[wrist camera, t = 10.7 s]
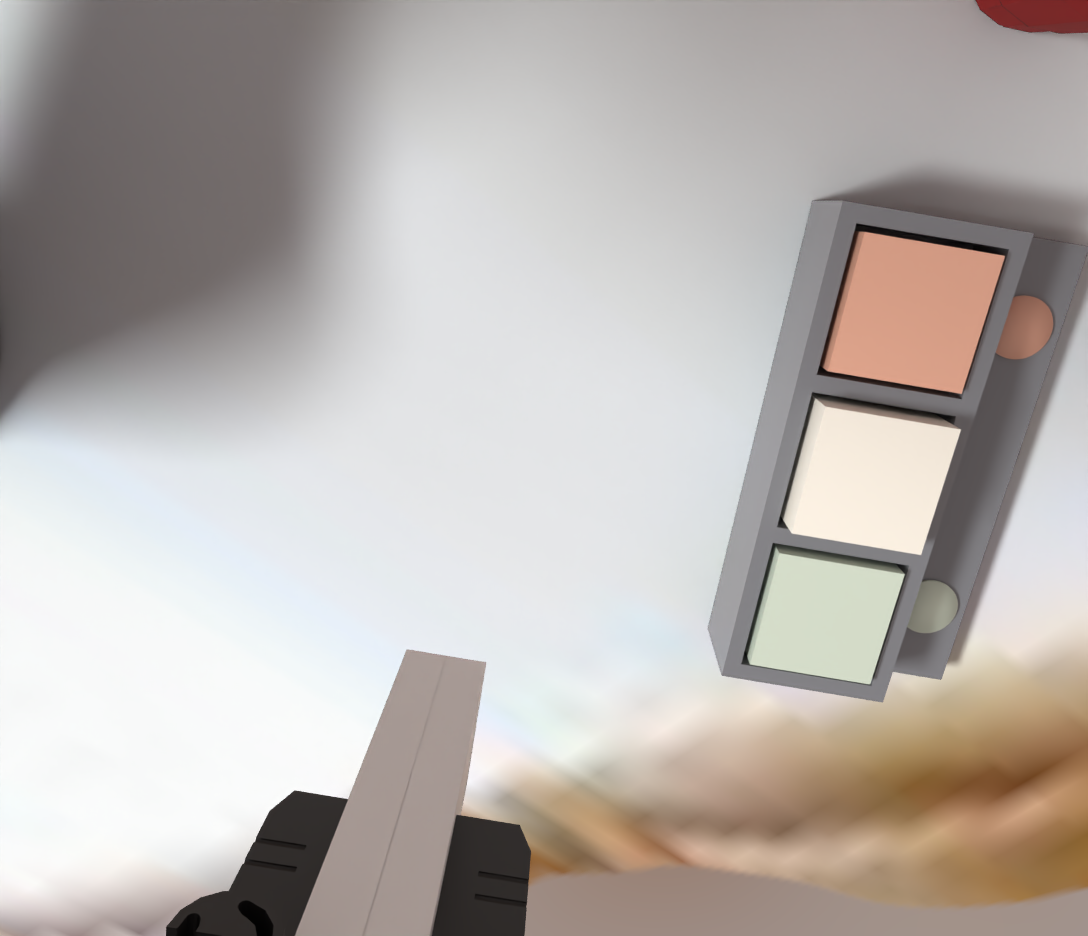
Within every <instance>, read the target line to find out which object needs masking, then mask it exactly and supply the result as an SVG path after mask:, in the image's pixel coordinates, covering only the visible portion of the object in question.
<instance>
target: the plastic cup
mask: <svg viewBox="0 0 1088 936" xmlns="http://www.w3.org/2000/svg"><path fill="white" fill-rule="evenodd" d="M976 2H977V4H978V6H979V8H980V10H981V11H982V12H984V13H985V14H986V15H987V16H989V17H990V18H991V19H992V20H994V21H995V22H996V23H997V24H999V25H1002V26H1003V27H1007V28H1012V29H1017V30H1021V31H1026V32H1046V31H1051V32H1055V33H1088V0H976Z"/></svg>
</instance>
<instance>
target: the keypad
mask: <svg viewBox="0 0 1088 936" xmlns="http://www.w3.org/2000/svg"><path fill="white" fill-rule="evenodd" d="M854 231H860V232H868V233H874V234H880V235H886V236H891V237H897V238H903V239H909V240H915V241H921V242H927V243H933V244H938V245H944V246H950V247H956V248H962V249H968V250H974V251H979V252H985V253H991V254H997V255H1003V256H1005V258H1004V261H1003V264H1002V267H1001V271H1000V274H999V277H998V280H997V283H996V286H995V290H994V293H993V296H992V299H991V302H990V306H989V309H988V312H987V315H986V318H985V321H984V325H983V328H982V331H981V334H980V337H979V340H978V344H977V347H976V350H975V353H974V356H973V359H972V363H971V366H970V369H969V372H968V375H967V378H966V382H965V385H964V388H963V391H962V394H960V393H954V392H948V391H942V390H936V389H930V388H924V387H918V386H912V385H906V384H900V383H895V382H889V381H883V380H877V379H871V378H865V377H859V376H853V375H847V374H841V373H835V372H830V371H827V370H825V369H824V368H822V367H821V366H820V365H819V364H820V361H821V357H822V353H823V349H824V345H825V341H826V338H827V334H828V330H829V326H830V322H831V318H832V315H833V311H834V307H835V303H836V299H837V296H838V292H839V288H840V284H841V280H842V276H843V273H844V269H845V265H846V261H847V257H848V253H849V250H850V246H851V242H852V238H853V234H854ZM1033 235H1034V233H1030V232H1024V231H1018V230H1013V229H1007V228H1001V227H995V226H989V225H983V224H977V223H972V222H966V221H960V220H954V219H948V218H942V217H937V216H931V215H925V214H919V213H913V212H907V211H901V210H896V209H890V208H884V207H878V206H872V205H866V204H860V203H855V202H849V201H812V205H811V209H810V213H809V217H808V221H807V225H806V229H805V233H804V237H803V241H802V246H801V250H800V254H799V258H798V262H797V266H796V270H795V274H794V278H793V282H792V286H791V290H790V295H789V299H788V303H787V307H786V311H785V315H784V319H783V323H782V327H781V331H780V335H779V339H778V344H777V348H776V352H775V356H774V360H773V364H772V368H771V372H770V376H769V380H768V384H767V388H766V393H765V397H764V401H763V405H762V409H761V413H760V417H759V421H758V425H757V429H756V433H755V437H754V442H753V446H752V450H751V454H750V458H749V462H748V466H747V470H746V474H745V478H744V482H743V486H742V491H741V495H740V499H739V503H738V507H737V511H736V515H735V519H734V523H733V527H732V531H731V535H730V540H729V544H728V548H727V552H726V556H725V560H724V564H723V568H722V572H721V576H720V580H719V584H718V589H717V593H716V597H715V601H714V605H713V609H712V613H711V617H710V621H709V625H708V631H709V634H710V638H711V641H712V644H713V648H714V651H715V655H716V658H717V661H718V665H719V668H720V671H721V675H722V676H728V677H734V678H740V679H746V680H752V681H758V682H764V683H770V684H776V685H782V686H788V687H794V688H800V689H806V690H812V691H818V692H824V693H830V694H836V695H842V696H848V697H854V698H860V699H866V700H872V701H878V702H883V700H884V697H885V694H886V691H887V688H888V685H889V682H890V678H891V675H892V672H898V673H904V674H910V675H916V676H922V677H928V678H934V679H940V680H941V679H942V676H943V673H944V670H945V667H946V664H947V661H948V658H949V656H950V653H951V650H952V647H953V644H954V641H955V638H956V635H957V632H958V629H959V626H960V623H961V621H962V618H963V615H964V612H965V609H966V606H967V603H968V600H969V597H970V594H971V591H972V588H973V586H974V583H975V580H976V577H977V574H978V571H979V568H980V565H981V562H982V559H983V556H984V553H985V551H986V548H987V545H988V542H989V539H990V536H991V533H992V530H993V527H994V524H995V521H996V518H997V516H998V513H999V510H1000V507H1001V504H1002V501H1003V498H1004V495H1005V492H1006V489H1007V486H1008V483H1009V481H1010V478H1011V475H1012V472H1013V469H1014V466H1015V463H1016V460H1017V457H1018V454H1019V451H1020V448H1021V446H1022V443H1023V440H1024V437H1025V434H1026V431H1027V428H1028V425H1029V422H1030V419H1031V416H1032V413H1033V411H1034V408H1035V405H1036V402H1037V399H1038V396H1039V393H1040V390H1041V387H1042V384H1043V381H1044V378H1045V376H1046V373H1047V370H1048V367H1049V364H1050V361H1051V358H1052V355H1053V352H1054V349H1055V346H1056V343H1057V341H1058V338H1059V335H1060V332H1061V329H1062V326H1063V323H1064V320H1065V317H1066V314H1067V311H1068V308H1069V306H1070V303H1071V300H1072V297H1073V294H1074V291H1075V288H1076V285H1077V282H1078V279H1079V276H1080V273H1081V271H1082V268H1083V265H1084V262H1085V259H1086V256H1087V253H1088V246H1083V245H1077V244H1071V243H1066V242H1060V241H1054V240H1048V239H1042V238H1036V237H1033ZM812 393H816V394H822V395H828V396H834V397H840V398H846V399H851V400H857V401H863V402H869V403H875V404H881V405H887V406H893V407H899V408H905V409H911V410H917V411H922V412H928V413H934V414H936V415H938V416H939V417H941V418H943V419H944V420H946V421H948V422H949V423H951V424H953V425H954V426H956V427H958V428H959V429H961V431H960V434H959V438H958V441H957V444H956V447H955V450H954V453H953V456H952V460H951V463H950V466H949V469H948V472H947V475H946V478H945V481H944V485H943V488H942V491H941V494H940V497H939V500H938V503H937V507H936V510H935V513H934V516H933V519H932V522H931V525H930V528H929V532H928V535H927V538H926V541H925V544H924V547H923V550H922V554H921V555H917V554H911V553H905V552H899V551H894V550H888V549H882V548H876V547H870V546H864V545H858V544H852V543H846V542H840V541H834V540H828V539H822V538H816V537H810V536H804V535H798V534H792V533H791V532H790V530H789V529H788V527H787V525H786V524H785V522H784V521H783V519H782V517H781V516H780V513H781V510H782V506H783V502H784V498H785V494H786V491H787V487H788V483H789V479H790V475H791V471H792V468H793V464H794V460H795V456H796V452H797V448H798V445H799V441H800V437H801V433H802V429H803V426H804V422H805V418H806V414H807V410H808V406H809V403H810V399H811V395H812ZM773 543H777V544H783V545H789V546H795V547H801V548H807V549H813V550H819V551H825V552H831V553H837V554H842V555H848V556H854V557H860V558H866V559H872V560H878V561H884V562H890V563H895V564H896V565H897V566H898V567H899V568H900V569H901V570H902V572H903V573H904V574H905V575H904V578H903V582H902V585H901V588H900V591H899V594H898V597H897V601H896V604H895V607H894V610H893V613H892V616H891V620H890V623H889V626H888V629H887V632H886V636H885V639H884V642H883V645H882V648H881V651H880V655H879V658H878V661H877V664H876V667H875V670H874V674H873V677H872V680H871V683H870V684H864V683H858V682H852V681H846V680H840V679H834V678H828V677H822V676H816V675H810V674H804V673H798V672H792V671H786V670H780V669H774V668H768V667H762V666H756V665H750V663H749V660H748V657H747V655H746V652H745V647H746V643H747V640H748V636H749V632H750V628H751V624H752V621H753V617H754V613H755V609H756V605H757V601H758V598H759V594H760V590H761V586H762V582H763V578H764V575H765V571H766V567H767V563H768V559H769V556H770V552H771V548H772V544H773Z"/></svg>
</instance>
